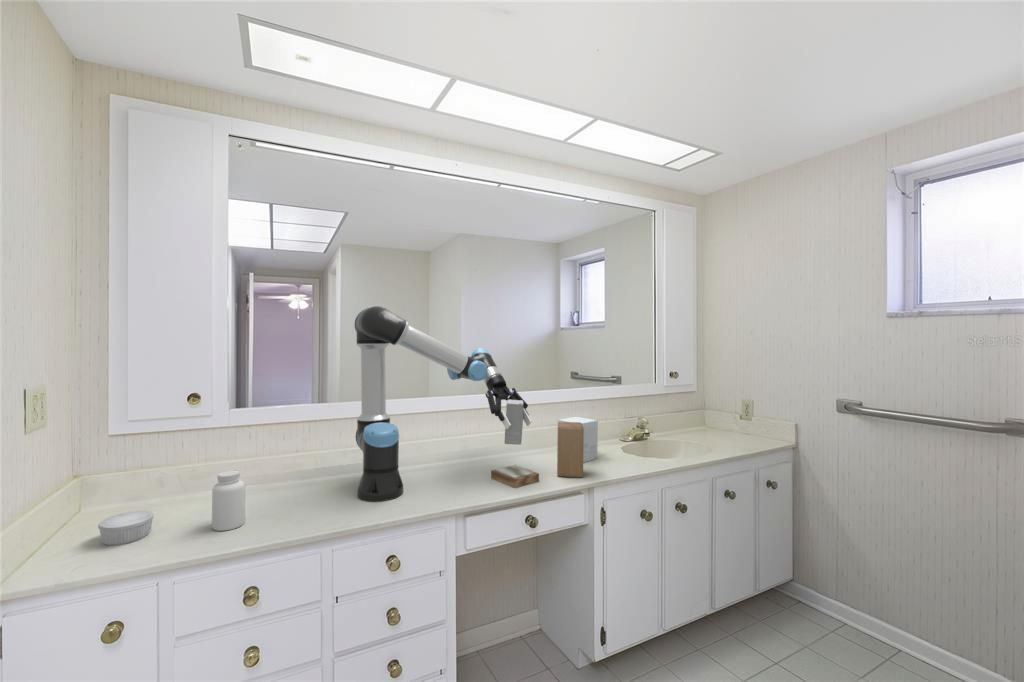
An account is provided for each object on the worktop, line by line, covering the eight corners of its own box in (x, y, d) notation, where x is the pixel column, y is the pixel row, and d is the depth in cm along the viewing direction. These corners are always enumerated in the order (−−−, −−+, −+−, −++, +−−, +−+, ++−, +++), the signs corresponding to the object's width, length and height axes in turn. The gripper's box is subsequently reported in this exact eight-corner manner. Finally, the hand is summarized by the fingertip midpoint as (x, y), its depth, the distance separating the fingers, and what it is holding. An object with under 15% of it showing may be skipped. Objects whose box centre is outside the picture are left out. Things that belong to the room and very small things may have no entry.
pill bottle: (208, 533, 119) (209, 478, 119) (215, 522, 127) (215, 470, 127) (242, 529, 122) (243, 475, 122) (247, 518, 130) (247, 467, 130)
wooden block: (581, 470, 180) (582, 422, 180) (583, 478, 170) (583, 426, 170) (557, 469, 181) (557, 421, 181) (557, 477, 171) (557, 426, 171)
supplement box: (575, 453, 208) (575, 416, 208) (598, 458, 199) (598, 420, 199) (556, 457, 199) (556, 419, 199) (579, 464, 190) (579, 423, 190)
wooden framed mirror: (514, 488, 158) (514, 478, 158) (491, 478, 169) (491, 469, 169) (538, 481, 166) (538, 472, 166) (515, 472, 177) (515, 464, 177)
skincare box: (505, 439, 173) (505, 399, 172) (523, 439, 172) (523, 399, 172) (504, 444, 164) (504, 402, 164) (523, 445, 164) (523, 402, 164)
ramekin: (132, 547, 112) (132, 526, 112) (85, 548, 111) (85, 527, 111) (164, 528, 123) (164, 509, 123) (121, 529, 122) (121, 510, 122)
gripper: (511, 384, 187) (536, 427, 175) (467, 388, 173) (491, 435, 161) (519, 373, 183) (545, 416, 171) (475, 375, 169) (500, 423, 157)
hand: (519, 425), depth 166 cm, fingers closed on skincare box, 10 cm apart
